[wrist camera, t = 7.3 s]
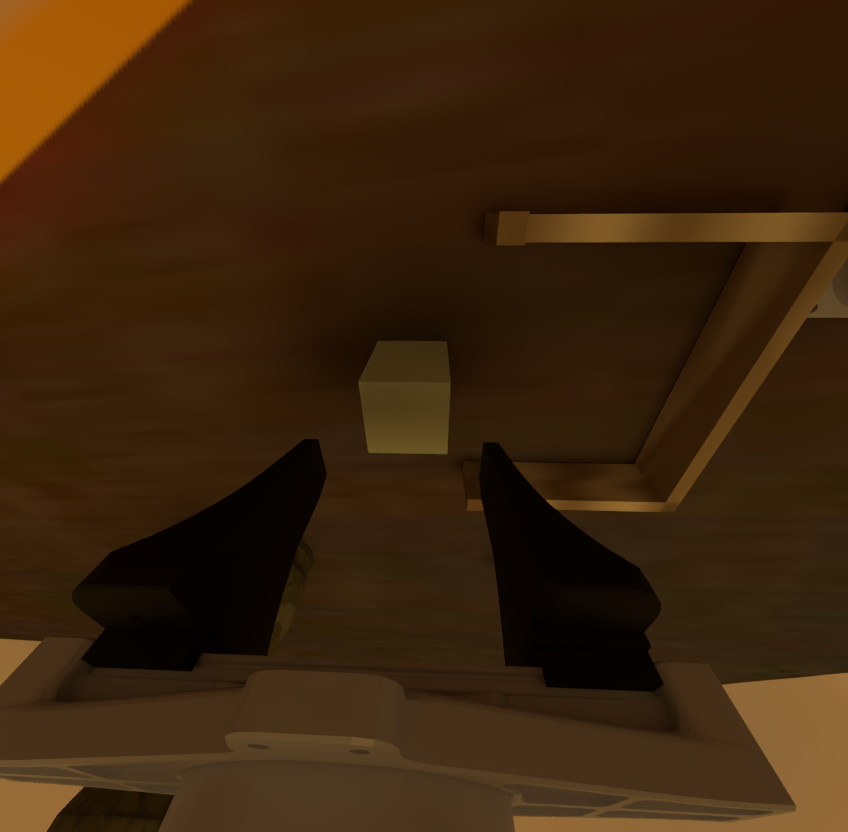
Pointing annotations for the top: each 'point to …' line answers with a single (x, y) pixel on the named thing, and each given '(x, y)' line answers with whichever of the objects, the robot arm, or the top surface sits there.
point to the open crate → (712, 353)
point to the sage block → (406, 397)
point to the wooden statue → (144, 812)
